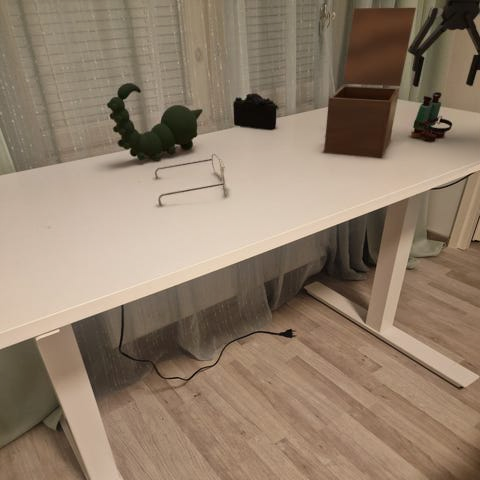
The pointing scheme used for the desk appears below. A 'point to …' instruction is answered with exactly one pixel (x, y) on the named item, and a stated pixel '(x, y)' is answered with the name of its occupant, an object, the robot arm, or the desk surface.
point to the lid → (378, 46)
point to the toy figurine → (161, 136)
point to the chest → (360, 120)
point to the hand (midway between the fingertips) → (442, 85)
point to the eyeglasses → (194, 188)
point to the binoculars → (430, 119)
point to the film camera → (255, 112)
